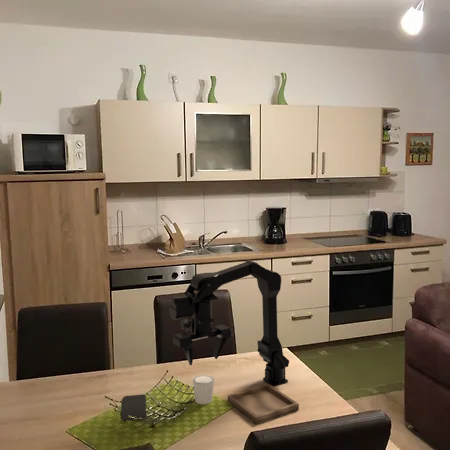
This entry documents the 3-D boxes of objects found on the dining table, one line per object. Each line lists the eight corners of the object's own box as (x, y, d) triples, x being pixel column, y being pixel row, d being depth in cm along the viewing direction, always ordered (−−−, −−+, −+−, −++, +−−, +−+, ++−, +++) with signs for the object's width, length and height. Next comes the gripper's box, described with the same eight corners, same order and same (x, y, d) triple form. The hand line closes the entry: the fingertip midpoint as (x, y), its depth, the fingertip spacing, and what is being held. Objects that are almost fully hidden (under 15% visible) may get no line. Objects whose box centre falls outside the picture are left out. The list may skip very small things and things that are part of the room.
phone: (120, 420, 141) (122, 396, 156) (121, 422, 141) (122, 398, 156) (146, 417, 143) (145, 394, 157) (146, 420, 143) (145, 396, 157)
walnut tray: (268, 389, 161) (268, 383, 161) (298, 409, 147) (298, 403, 147) (227, 401, 153) (227, 395, 152) (255, 424, 139) (255, 417, 139)
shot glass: (211, 406, 150) (211, 385, 149) (190, 404, 151) (190, 383, 150) (216, 395, 157) (216, 375, 156) (196, 394, 158) (195, 374, 157)
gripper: (215, 303, 162) (215, 347, 164) (164, 312, 152) (166, 359, 154) (232, 311, 153) (233, 358, 155) (180, 322, 143) (181, 372, 145)
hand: (203, 361), depth 152 cm, fingers open, 9 cm apart
